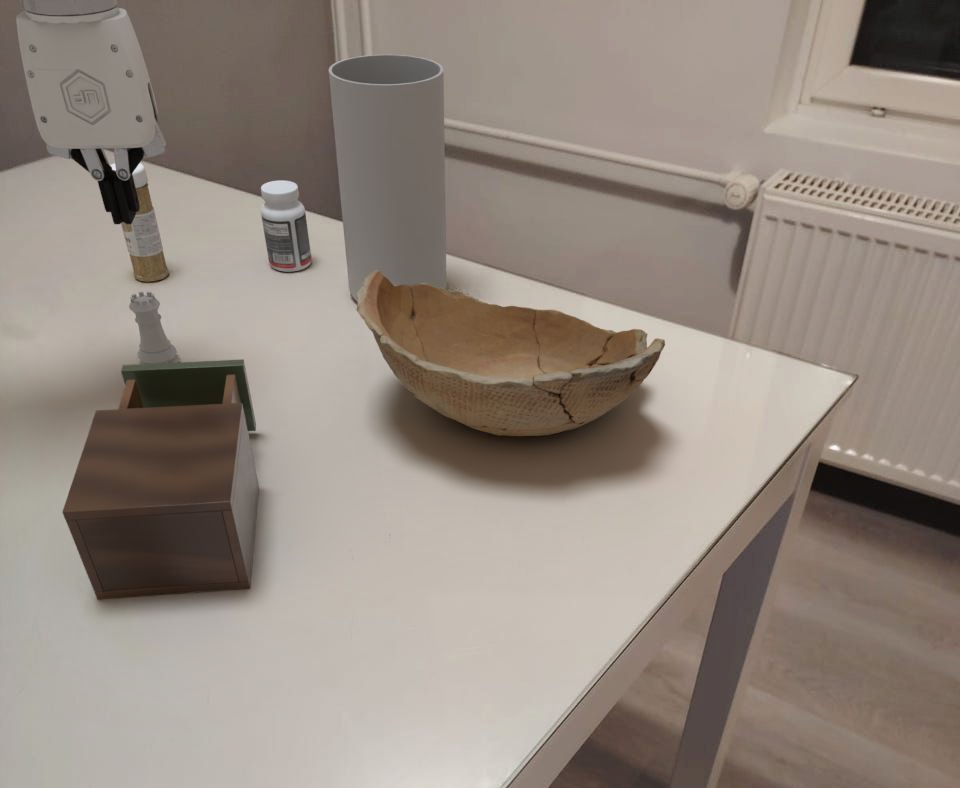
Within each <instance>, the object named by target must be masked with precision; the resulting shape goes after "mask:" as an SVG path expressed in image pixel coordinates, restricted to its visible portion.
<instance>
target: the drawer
mask: <svg viewBox="0 0 960 788" xmlns="http://www.w3.org/2000/svg"><path fill="white" fill-rule="evenodd" d="M120 373H121V377H122V379H123V382H124V389H123V393H122V396H121V399H120V402H119V406H118V409H133V408H152V407H172V406H191V405H211V404H230V403H242V405H243V410H244V415H245V420H246V425H247V430H248V432H256V431H257V421H256V417H255V416H256V415H255V410H254V406H253V399H252V394H251V390H250V389H251V388H250V384H249V379H248V374H247V369H246V364H245V359H243V358H242V359H223V360H202V361H201V360H199V361H181V362H179V361H178V362H177V363H156V364H139V363H136V364H122V368H121V370H120Z"/></svg>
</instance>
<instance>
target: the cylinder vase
mask: <svg viewBox="0 0 960 788" xmlns="http://www.w3.org/2000/svg"><path fill="white" fill-rule="evenodd" d="M444 74H445V73H444V66H443V65H441V64H440V63H439V62H437V61H434V60H432V59H429V58H426V57H420V56H414V55H408V54H407V55H406V54H369V55H360V56H354V57H349V58H345V59H342V60H339V61H336V62H334V63H332V64H331V65H330V66H329V67H328V79H329V89H330V91H329V92H330V101H331V109H332V119H333V121H332V122H333V132H334V143H335V154H336V164H337V165H336V166H337V175H338V186H339V196H340V206H341V216H342V217H341V218H342V227H343V238H344V250H345V260H346V271H347V282H348V291H349V293H350V296H352V298H353V300H355V301H356V302H357V303H358V299H357V292H358V291H359V289H360V286H361V284H363V282H364V279H365V277H366V276H367V275H368V274H369V273H371V272H373V271H375V270H379V271H380V272H381V273H382V275H383V276H384V277H386V278H387V279H388V280H389V281H390V282H391V283H392V284H393V285H402V284H405V285H409V286H411V285H416V284H421V283H428V284H429V285H431V286H435V287H439V288H444V289H447V282H448V281H447V225H446V224H447V223H446V222H447V219H446V218H447V217H446V215H447V214H446V213H447V212H446V156H445V155H446V154H445V153H446V151H445V89H444V88H445V85H444V84H445V83H444V82H445V80H444V79H445V78H444V77H445V76H444Z"/></svg>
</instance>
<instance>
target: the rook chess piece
mask: <svg viewBox="0 0 960 788" xmlns="http://www.w3.org/2000/svg"><path fill="white" fill-rule="evenodd" d="M137 293H138V296H137ZM137 293H132V294H131V297H130V298H129V299H130V303H129V305H128V308H129V310H130V311H131V312H133V313H134V315H135V318H134V322H135V323H136V324H137V326H138V331H139V338H140V339H139V340H140V341H139V345H138V350H137V358H138V360H139V362H138V364H156V363H177V362H179V361H180V357H179V355H178V354H177V353H178V350H177V348H176V346H175V345H174V344H173V343H172V342H171V340H170V339H168V337H167V335H166V333H165V331H164V327H163V325H162V322H161V320H162V315H161V314H160V313H159V308H160V306H161V302H160V300H158V299H157V298H156V296H155V294H154V293H152V291H149V290H148V291H146V295H145V294H144V293H145V292H144V291H138V292H137Z"/></svg>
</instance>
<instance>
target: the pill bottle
mask: <svg viewBox="0 0 960 788" xmlns="http://www.w3.org/2000/svg"><path fill="white" fill-rule="evenodd" d="M260 192H261V199H262V200H263V201H264V203H263V205H262V206H261V208H260V216H261V222H262V228H263V234H264V241H265V246H266V247H265V248H266V252H267V253H266V254H267V259H268V263H269V266H270V267H271V268H272V269H274V270H276V271H279V272H282V273H283V272H284V273H287V272H288V273H292V272H293V273H294V272H299V271H302V270H304V269H306V268H308V267H309V266H310V265H311V263H312V253H311V243H310V236H309V230H308V222H307V215H306V209H305V206H304V204H303V203H302V202H301V201H300V200H299V197H300V192H299V186H298V183H296V182H293V181H290V180H284V179H283V180H282V179H280V180H272V181H267V182H265V183H263V184H262V185H261V186H260Z"/></svg>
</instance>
